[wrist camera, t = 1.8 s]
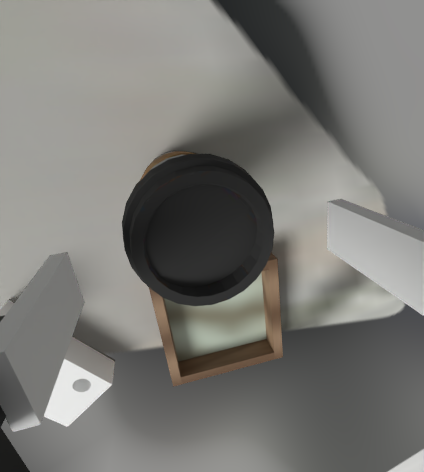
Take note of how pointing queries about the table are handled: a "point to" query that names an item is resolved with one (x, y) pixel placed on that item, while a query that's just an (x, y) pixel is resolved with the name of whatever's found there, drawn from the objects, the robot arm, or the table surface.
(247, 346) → the cup dock
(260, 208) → the coffee cup
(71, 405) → the bracket
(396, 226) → the robot arm
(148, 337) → the table surface
